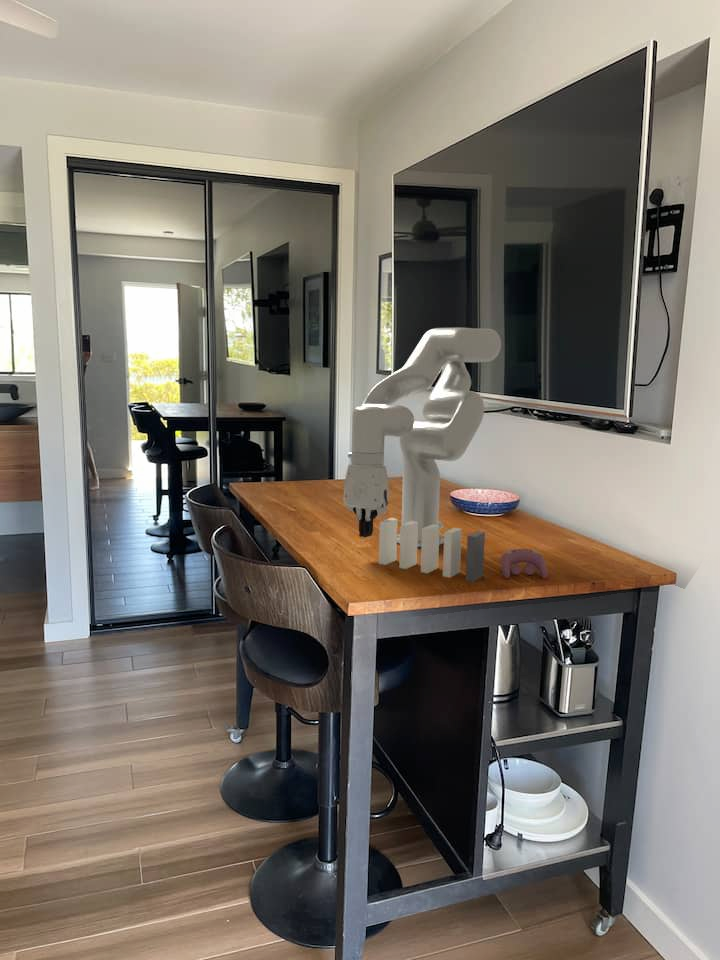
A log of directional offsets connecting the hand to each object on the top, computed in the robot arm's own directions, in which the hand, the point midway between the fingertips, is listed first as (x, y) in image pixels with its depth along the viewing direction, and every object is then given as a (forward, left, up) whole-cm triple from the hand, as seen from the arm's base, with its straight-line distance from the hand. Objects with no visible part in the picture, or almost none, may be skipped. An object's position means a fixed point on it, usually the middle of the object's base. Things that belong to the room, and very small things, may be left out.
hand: (365, 535), depth 170 cm
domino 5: (0, +28, -5) cm, 29 cm away
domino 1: (0, +6, -5) cm, 8 cm away
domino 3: (0, +17, -5) cm, 18 cm away
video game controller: (-9, +36, -6) cm, 37 cm away
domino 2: (0, +12, -5) cm, 13 cm away
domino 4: (0, +23, -5) cm, 23 cm away
